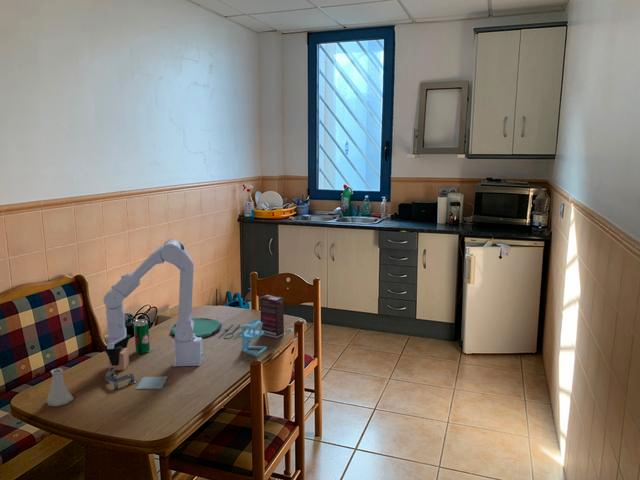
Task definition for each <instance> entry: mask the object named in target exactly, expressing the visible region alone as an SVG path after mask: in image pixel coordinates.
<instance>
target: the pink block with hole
mask: <svg viewBox="0 0 640 480" xmlns="http://www.w3.org/2000/svg"><path fill="white" fill-rule="evenodd" d="M129 358H130V357H129V348H128V347H127V348H121V351H120V356H119V365H117V366H112V364H111V362H110V359H109V358H108V365H109V369H110V368H114V371H125V370H126V369H127V367H128V366H129V365H130V359H129Z"/></svg>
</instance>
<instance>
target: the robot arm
mask: <svg viewBox="0 0 640 480" xmlns="http://www.w3.org/2000/svg"><path fill="white" fill-rule="evenodd" d="M165 262H166V263H169V264H171V265H173V266H175V267H176V268H177V269H178V270H179V291H178V292H179V293H178V295H179V296H178V316H177V320H176V323H175V324H176V329H175V333H174V347H175V349H174V350H175V359H174V361H173V364H172V367H190V366H192V367H193V366H194V367H195V366H196V367H197V366H199V367H200V366H202V365H201V364H202V361H203V359H204V344H203V343H204V342H203V338H201V337H196V335H195V334H194V333H193V329H194V321H193V319H192V318H193V296H194V295H193V293H194V292H193V291H194V269H195V268H194V266H195V262H194V260H193V258H192V257H191V256H190V254H189V252H188V251H187V249H186V247H185V245H184V244H183V243H181V242H180V241H179V240H178V239H174V238H171V239H168V240H166V241H165V242H164V243H163V244H161V245H160V246H159V247H157V248H156V249H155V250H153V251H152V253H150V254H149V256H147V258H146V259H145V260H144V261H143V262H142V263H141V264H140V265H139V266H138V267H137V268H136V269H135V270H134V271H132V272H127V273H123V274H122V275H121V277H120V279H119V280H118V282H116V283H115V284H112V285H111V287H110V289H109V290H108V291H107V292H106V294H105V295H104V297H103V304H104V306H105V309H106V310H105V311H106V312H105V315H106V327H107V328H106V329H107V334H105V335H104V339H107V343H106V345H104V347H103V350H104V353H106V355H107V357H108V360H109V359H110V362H111V364H112V366H117V365H119V356H120V351H121V348H128V343H129V340H130V338H131V335H130V333H129V334H127V333H128V332H127V327H126V319H125V309H124V302H123V301H124V300H125V299H126V298H128V297H129V296H130V295H131V294H132V293H133V292H134V291H135V290H137V288H138V287H139V286H140V285H141V279H142V278H143V277H144V276H145V275H146V274H147V273H148V272H149V271H150V270H151V269H153V267H155V266H156V265H158V264H164V263H165Z"/></svg>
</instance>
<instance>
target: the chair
mask: <svg viewBox="0 0 640 480" xmlns="http://www.w3.org/2000/svg"><path fill="white" fill-rule="evenodd" d="M247 322H248V323H247V324H244V325H240V328H241V331H242V333H241V335H240V337H239V338H241V350H240V351H241V352H243V353H246V354H247V355H250V356H252V357H253V356H254V357H256V358H257V357H259V356H260V355H261V354H263V353H264V352H265V351H266V350H267V348H268V347H267V346H263V345H250V344H251V341H252V340H254V341H256V340H257V339H259V337H261V336H264V335H263V334H264V332H263V331H262V330H261V328H262V324H263V323H262V322H261V320H259V319H258V320H257V319H253V320H250V321H247ZM243 328H246V329H247V330H246V331H245V330H244V329H243ZM257 328H259V330H257ZM252 350H259V351H258V352H254V351H252Z"/></svg>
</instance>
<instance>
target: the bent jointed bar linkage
mask: <svg viewBox="0 0 640 480" xmlns="http://www.w3.org/2000/svg"><path fill="white" fill-rule="evenodd" d="M116 377H117V373H115V370H114V368H110V367H109V370H107V372H106V373H105V376H104V378H105V384H106V385H109V384H110V383H111V382H112V383H113V389H114V390H118V389H119V383H121V382H124V381H127V380H129V379H130V380H129V381H128V384H129V385H134V384H136V383H137V382H138V381H137V380H136V378H135V374H133V373H128V374H125V375H123V376H120V377H118V378H116Z"/></svg>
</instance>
